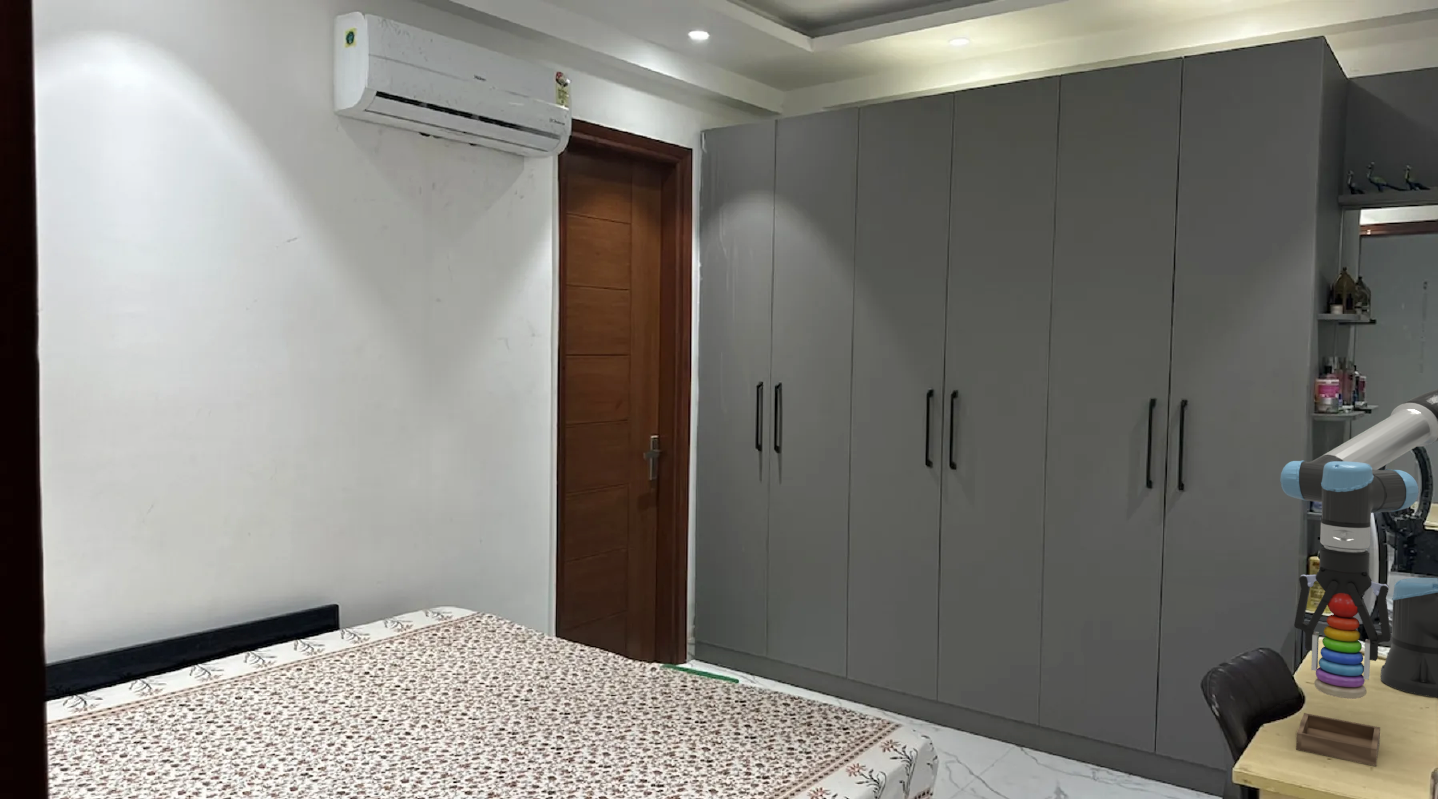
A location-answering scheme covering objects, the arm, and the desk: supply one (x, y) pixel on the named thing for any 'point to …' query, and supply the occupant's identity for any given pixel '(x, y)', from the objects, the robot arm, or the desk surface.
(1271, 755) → the desk surface
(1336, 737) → the walnut open square tray
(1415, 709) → the desk surface
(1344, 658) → the stacking toy
